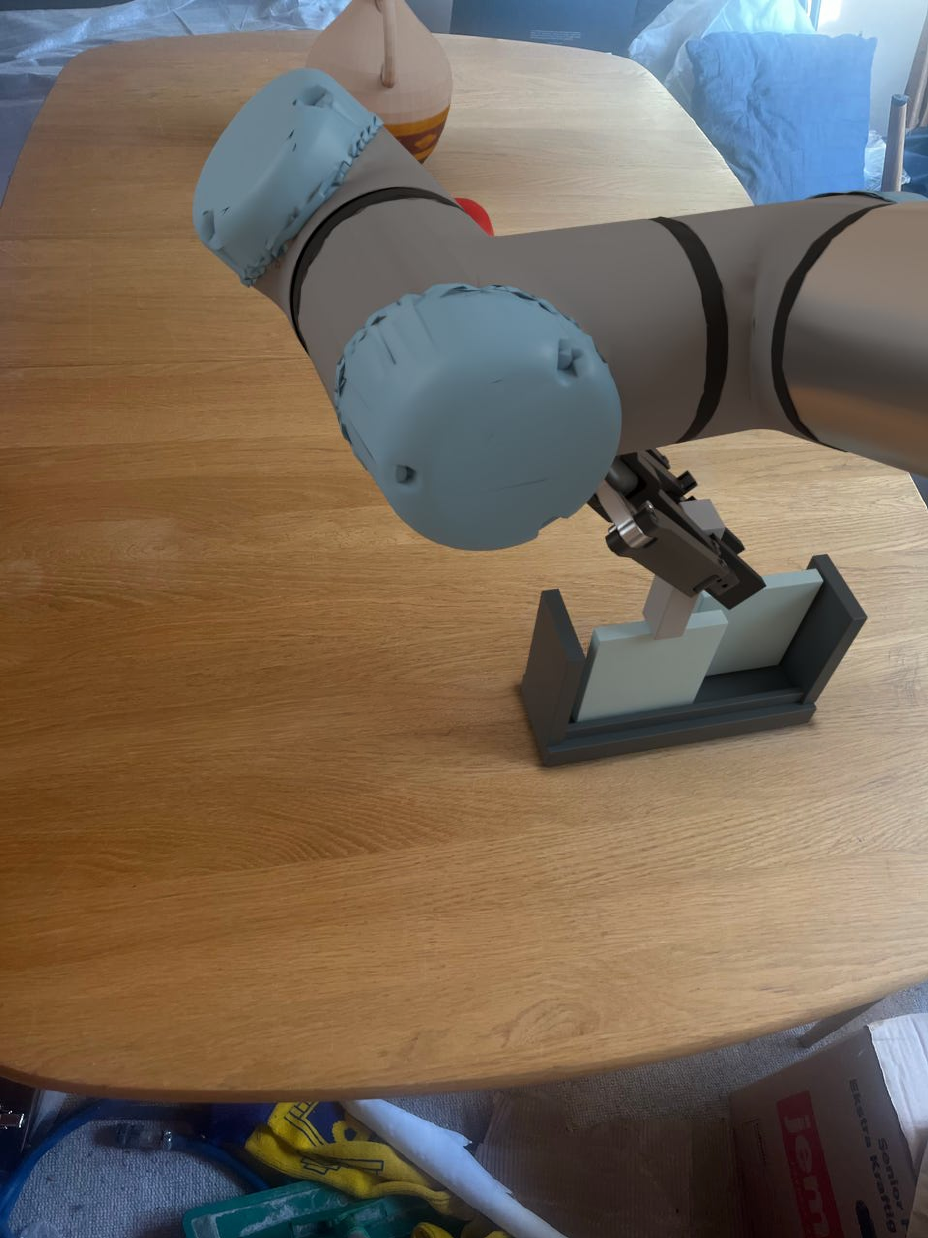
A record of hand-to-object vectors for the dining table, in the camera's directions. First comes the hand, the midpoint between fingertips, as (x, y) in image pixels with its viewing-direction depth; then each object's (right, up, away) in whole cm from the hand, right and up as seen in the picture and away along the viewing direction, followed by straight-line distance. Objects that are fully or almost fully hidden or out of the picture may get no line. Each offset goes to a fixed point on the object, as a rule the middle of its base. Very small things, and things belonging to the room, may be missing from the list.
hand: (734, 574), depth 60 cm
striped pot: (-28, +54, +64) cm, 88 cm away
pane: (-5, -9, +10) cm, 14 cm away
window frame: (-2, -9, +13) cm, 16 cm away
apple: (-19, +33, +47) cm, 61 cm away
